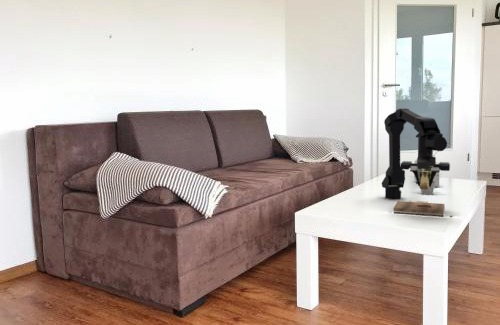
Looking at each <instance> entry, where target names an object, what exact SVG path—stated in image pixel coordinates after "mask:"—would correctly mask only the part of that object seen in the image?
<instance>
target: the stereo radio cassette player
mask: <svg viewBox="0 0 500 325" xmlns="http://www.w3.org/2000/svg"><path fill="white" fill-rule="evenodd" d="M436 154H438V151H435V153H434V154H433V157H436ZM414 163H417V159H415V160H414ZM439 163H440V162H437V161H436V164H439ZM422 171H424V169H422ZM431 171H432V168H431ZM430 173H431V172H430ZM413 175H414V174H413ZM419 175H420V170H419ZM436 175H439V176H437V177H436V176H435V177H434V179H433V181H434V182H435V185H434V188H439V186H440V172H439V173H436ZM413 177H414V178H413V179H414V181H415V182H416V183H417V180H416V177H415V175H414V176H413ZM419 179H420V177H419Z"/></svg>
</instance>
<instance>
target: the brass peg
mask: <svg viewBox="0 0 500 325" xmlns="http://www.w3.org/2000/svg"><path fill="white" fill-rule="evenodd" d="M418 189H419V190H421V189H430V171H420V185H419V186H418Z"/></svg>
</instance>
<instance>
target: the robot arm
mask: <svg viewBox="0 0 500 325" xmlns="http://www.w3.org/2000/svg"><path fill="white" fill-rule="evenodd" d="M383 121H384V122H383V123H384V128H385V131H386V133H387V135H388V154H389V155H388V158H389V160H388V161H389V163H388V168H387V169H386V171H385V176H384V179H383V180H382V182H381V187H382V188H383V189H385V192H384V194H385V197H384V198H385V199H387V200H388V199H389V200H401V198H402V190H401V188H402V189H403V188H404V186H405V182H406V171H405V170H409V169H410V172H412V173H413V175H415V177H416V180H417V182H416V183H417V186H418V187H419V185H420V179H419V169H430V168H432V172H431V179H430V187H431V185H432V182H433V179H434V177H435V175H436V173H439V174H440V172H442V171H444V172H446V171H447V172H449V171H450V170H451V169H450V168H451V163H450V162H448V161H447V162H446V161H445V162H444V161H443V162H442V161H440V162H438V163H439V164H436V162H437V158H436V156H434V157H433V155H434V154H433V152H434V151H435V152H442V151H445V149H446V148H447V146H448V141H447V140H446V138H445V137H443V136H444V135H443V133H441V130H440V127H439V125H438V124H437V121H436V119H435V118H433V117H428V116H427V117H426V116H421V115H419V114H418V113H416V112H414V111H411V110H410V109H409V108H406V107H405V108H397V109H396V110H395V111H394V112H392V113H390V114H388V115H387V117H386V118H385V119H384V120H383ZM406 123H408V124H410V125H412V126H413V129H414V130H415V131H416V132H417V134H416V135H415V138H418V139H417V158H416V160H417V163H415V162H412V161H411V160H410V161H407V160H404V161H402V162H401V134H402V133H403V131H404V130H405V124H406Z"/></svg>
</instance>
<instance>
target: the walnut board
mask: <svg viewBox="0 0 500 325" xmlns="http://www.w3.org/2000/svg"><path fill="white" fill-rule="evenodd" d="M444 212H445V203H439V202H438V203H436V202H433V203H432V202H429V201H425V200H424V201H423V200H408V201H401V200H397V201H396V203H395V205H394V207H393V214H395V215H406V216H407V215H408V216H409V215H410V216H419V217H420V216H421V217H423V216H424V217H439V218H444Z"/></svg>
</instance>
